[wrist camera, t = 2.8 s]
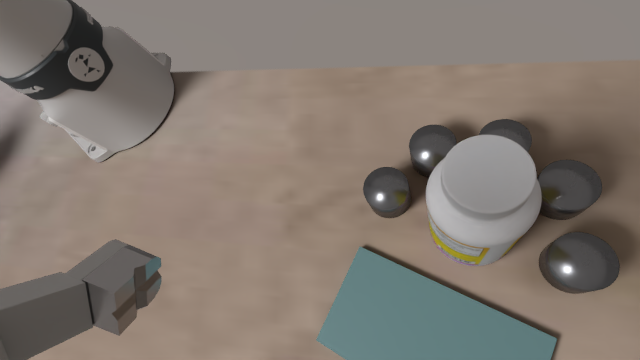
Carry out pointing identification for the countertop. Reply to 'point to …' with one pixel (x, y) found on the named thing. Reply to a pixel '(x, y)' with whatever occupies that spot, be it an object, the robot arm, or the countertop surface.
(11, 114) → the countertop surface
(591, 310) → the countertop surface
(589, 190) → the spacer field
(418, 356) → the mat
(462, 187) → the supplement bottle
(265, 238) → the countertop surface
